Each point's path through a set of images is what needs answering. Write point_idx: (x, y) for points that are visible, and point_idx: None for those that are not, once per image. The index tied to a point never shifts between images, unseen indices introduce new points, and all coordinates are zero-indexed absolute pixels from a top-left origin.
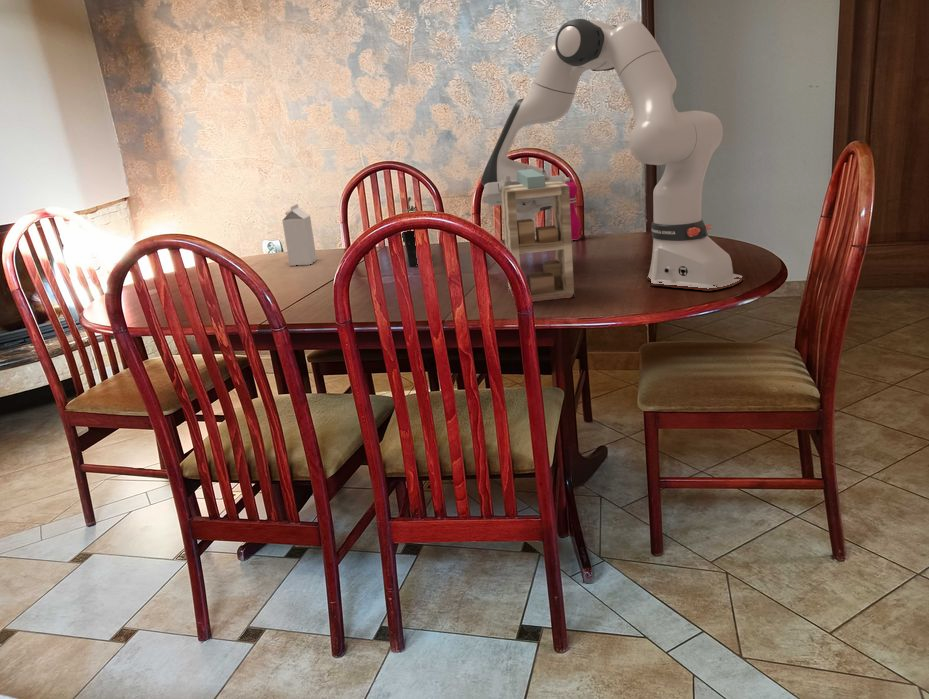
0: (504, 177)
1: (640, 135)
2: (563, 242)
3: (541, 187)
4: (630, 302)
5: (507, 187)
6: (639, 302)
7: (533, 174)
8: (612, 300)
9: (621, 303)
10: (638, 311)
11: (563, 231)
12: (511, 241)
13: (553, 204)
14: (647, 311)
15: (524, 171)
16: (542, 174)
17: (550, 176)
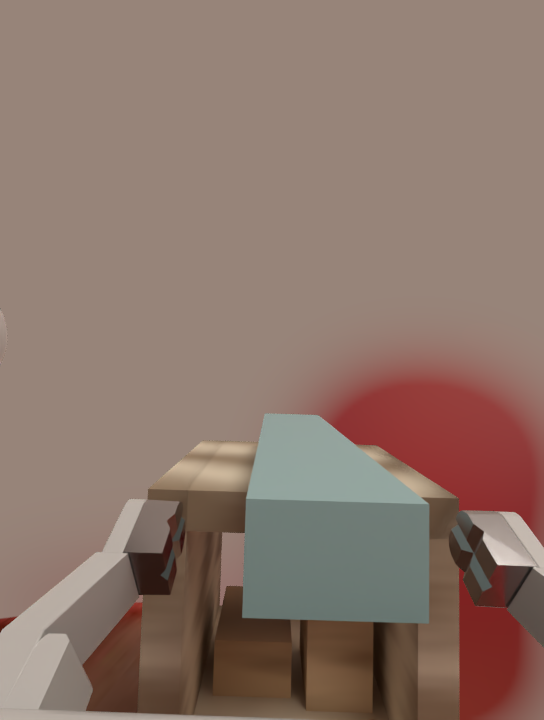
0: (506, 515)
1: (4, 320)
2: (218, 608)
3: None
4: (103, 679)
5: (402, 474)
6: (90, 672)
7: (292, 423)
8: (121, 711)
9: (123, 679)
10: (137, 625)
11: (220, 570)
12: None
13: (188, 598)
14: (125, 620)
15: (331, 459)
16: (181, 512)
17: (8, 625)
